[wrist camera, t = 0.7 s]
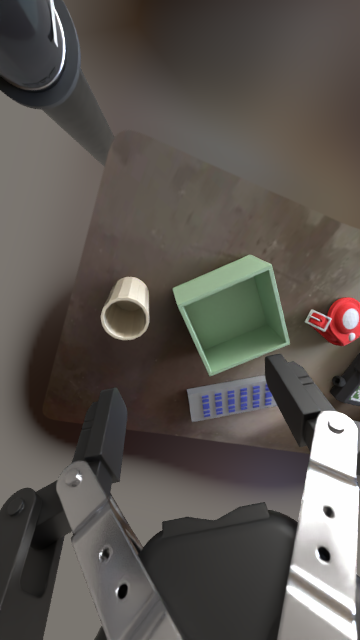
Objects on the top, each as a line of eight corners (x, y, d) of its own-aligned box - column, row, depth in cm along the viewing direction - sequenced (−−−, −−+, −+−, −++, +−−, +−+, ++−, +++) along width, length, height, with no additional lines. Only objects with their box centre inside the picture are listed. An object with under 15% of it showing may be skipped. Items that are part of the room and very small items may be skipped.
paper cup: (104, 286, 39) (91, 309, 30) (138, 270, 39) (135, 289, 30) (122, 317, 42) (115, 346, 33) (154, 303, 42) (156, 329, 33)
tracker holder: (364, 288, 44) (375, 337, 46) (342, 288, 48) (353, 333, 50) (311, 315, 42) (325, 365, 44) (293, 313, 46) (307, 358, 48)
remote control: (186, 388, 51) (188, 395, 49) (289, 370, 52) (294, 376, 50) (190, 415, 54) (192, 423, 52) (286, 398, 55) (291, 405, 53)
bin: (172, 288, 41) (177, 305, 34) (250, 254, 40) (271, 264, 33) (200, 351, 47) (209, 376, 40) (268, 323, 46) (290, 344, 39)
